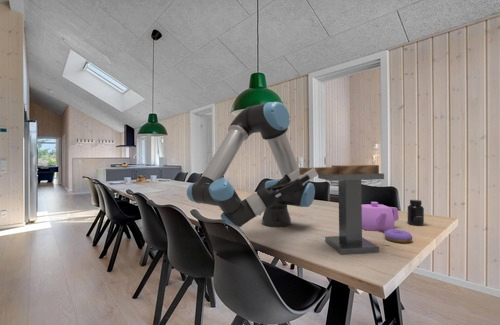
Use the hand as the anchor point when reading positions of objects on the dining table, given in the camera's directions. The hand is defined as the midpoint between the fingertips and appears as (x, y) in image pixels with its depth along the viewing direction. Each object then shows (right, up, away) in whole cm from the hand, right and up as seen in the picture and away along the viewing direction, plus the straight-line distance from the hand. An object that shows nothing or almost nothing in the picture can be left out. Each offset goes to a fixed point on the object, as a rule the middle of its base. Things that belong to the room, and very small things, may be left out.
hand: (309, 170), depth 93 cm
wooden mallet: (+11, -1, +2) cm, 11 cm away
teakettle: (+38, -29, +27) cm, 55 cm away
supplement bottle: (+61, -28, +32) cm, 74 cm away
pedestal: (+16, -29, +2) cm, 34 cm away
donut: (+38, -29, +9) cm, 49 cm away
